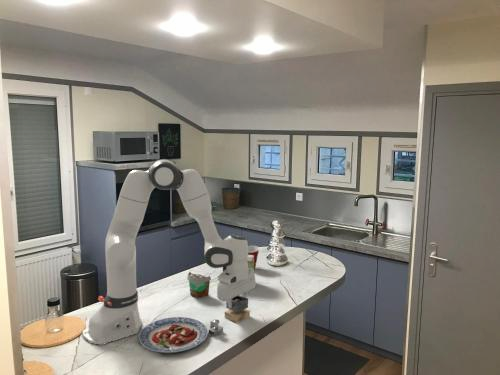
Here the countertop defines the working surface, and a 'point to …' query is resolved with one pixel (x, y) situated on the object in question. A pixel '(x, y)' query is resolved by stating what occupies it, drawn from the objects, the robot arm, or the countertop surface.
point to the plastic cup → (253, 253)
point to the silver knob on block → (215, 329)
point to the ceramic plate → (173, 334)
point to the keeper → (237, 314)
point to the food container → (198, 285)
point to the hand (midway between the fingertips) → (237, 304)
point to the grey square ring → (238, 304)
